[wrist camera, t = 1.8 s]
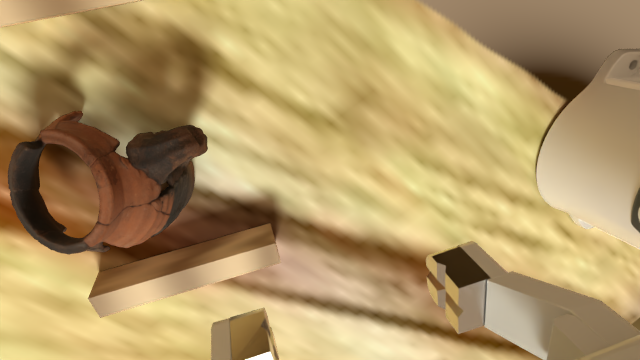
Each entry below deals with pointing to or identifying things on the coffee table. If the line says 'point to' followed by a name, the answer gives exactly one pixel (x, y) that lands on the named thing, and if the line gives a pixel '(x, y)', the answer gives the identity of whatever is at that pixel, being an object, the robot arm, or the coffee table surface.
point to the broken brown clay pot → (110, 183)
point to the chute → (169, 268)
